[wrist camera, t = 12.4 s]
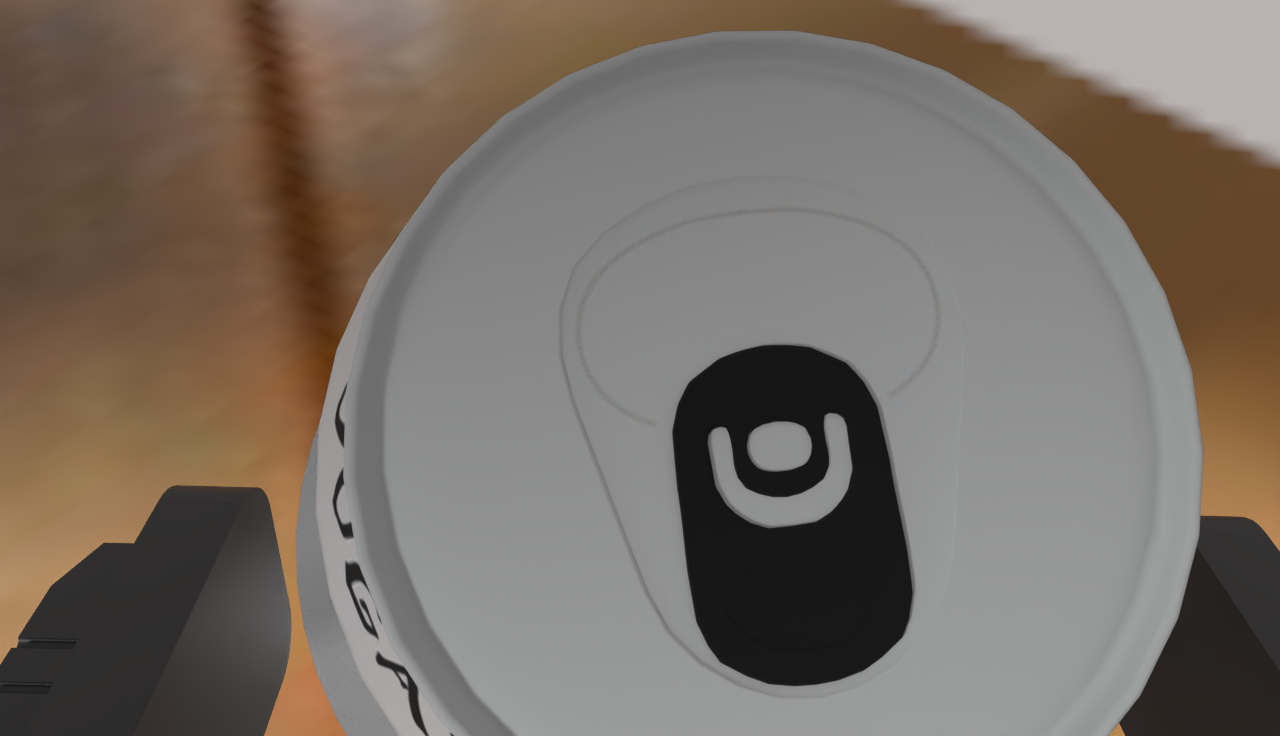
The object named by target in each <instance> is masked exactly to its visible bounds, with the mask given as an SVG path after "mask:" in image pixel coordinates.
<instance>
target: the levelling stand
mask: <svg viewBox="0 0 1280 736" xmlns="http://www.w3.org/2000/svg"><path fill="white" fill-rule="evenodd" d="M318 428H319V426H318ZM317 452H318V429H317V431H316V434H315V436H314V439H313V443H312V447H311V450H310V454H309V458H308V462H307V466H306V470H305V474H304V478H303V482H302V488H301V496H300V505H299V513H298V522H297V530H296V548H297V584H298V590H299V597H300V604H301V611H302V618H303V625H304V629H305V633H306V636H307V640H308V643H309V647H310V650H311V654H312V658H313V661H314V665H315V668H316V672H317V675H318V677H319V679H320V682H321V684H322V686H323V688H324V691H325V693H326V695H327V698H328V700H329V702H330V704H331V707H332V709H333V711H334V714H335V716H336V718H337V720H338V722H339V723H340V725H341V727H342V728H343V730H344V731H345V733H346V735H347V736H398V734H397V733H396V731H395V730H394V728H393V727H392V725H391V723H390V722H389V720H388V719H387V717H386V716H385V714H384V713H383V711H382V710H381V708H380V706H379V705H378V703H377V702H376V700H375V699H374V697H373V696H372V694H371V692H370V691H369V689H368V688H367V686H366V685H365V683H364V682H363V680H362V678H361V676H360V674H359V671H358V668H357V666H356V663H355V661H354V658H353V656H352V653H351V650H350V648H349V645H348V643H347V640H346V637H345V635H344V632H343V630H342V627H341V624H340V622H339V619H338V617H337V614H336V611H335V609H334V606H333V604H332V601H331V598H330V595H329V589H328V583H327V577H326V571H325V565H324V559H323V554H322V548H321V542H320V536H319V530H318V524H317V518H316V483H317Z"/></svg>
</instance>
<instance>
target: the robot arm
mask: <svg viewBox="0 0 1280 736" xmlns="http://www.w3.org/2000/svg"><path fill="white" fill-rule="evenodd" d="M18 639H19V642H18V646H17V648H11V649H10V651H9V652H8V654H7V655H6V657H5V659H4V660H3V662H2V663H1V665H0V736H264V733H265V731H266V728H267V725H268V722H269V719H270V716H271V713H272V711H273V708H274V705H275V702H276V699H277V696H278V693H279V690H280V688H281V685H282V682H283V679H284V675H285V672H286V668H287V663H288V658H289V651H290V643H291V610H290V604H289V599H288V594H287V589H286V584H285V579H284V574H283V569H282V564H281V559H280V554H279V549H278V544H277V539H276V534H275V528H274V523H273V518H272V513H271V508H270V504H269V501H268V498H267V495H266V494H265V492H264V491H263V490H262V489H261V488H254V487H217V486H180V485H176V486H172V487H170V488H169V489H167V490H166V492H165V493H164V494H163V495H162V497H161V498H160V500H159V501H158V503H157V505H156V506H155V508H154V510H153V512H152V513H151V515H150V517H149V519H148V520H147V522H146V524H145V525H144V527H143V529H142V531H141V532H140V534H139V536H138V538H137V539H136V541H135V543H134V544H131V543H103V544H102V545H101V546H99V547H98V548H97V549H96V550H95V551H93V552H92V553H91V554H90V555H88V556H87V557H86V558H85V559H84V560H82V561H81V562H80V563H79V564H77V565H76V566H75V567H74V568H73V569H71V570H70V571H69V572H68V573H66V574H65V575H64V576H63V577H62V578H60V579H59V580H58V581H57V582H55V583H54V584H53V585H52V586H51V587H50V589H49V590H48V592H47V593H46V595H45V596H44V598H43V600H42V601H41V603H40V604H39V606H38V607H37V609H36V610H35V612H34V614H33V615H32V617H31V618H30V620H29V621H28V623H27V624H26V626H25V628H24V629H23V631H22V632H21V634H20V635H19V637H18ZM1119 723H1120V725H1121V728H1122V730H1123V732H1124V734H1125V736H1280V551H1279V550H1278V549H1277V547H1276V546H1275V545H1274V543H1273V542H1272V541H1271V539H1270V538H1269V537H1268V535H1267V534H1266V533H1265V531H1264V530H1263V529H1262V528H1261V527H1260V526H1259V525H1258V524H1257V523H1255V522H1254V521H1252V520H1250V519H1248V518H1245V517H1230V516H1200V532H1199V539H1198V543H1197V547H1196V551H1195V554H1194V558H1193V562H1192V566H1191V570H1190V574H1189V578H1188V582H1187V586H1186V589H1185V593H1184V597H1183V601H1182V605H1181V609H1180V613H1179V617H1178V620H1177V622H1176V624H1175V626H1174V628H1173V630H1172V632H1171V634H1170V636H1169V638H1168V640H1167V642H1166V644H1165V646H1164V648H1163V650H1162V652H1161V654H1160V656H1159V658H1158V660H1157V663H1156V665H1155V667H1154V669H1153V671H1152V673H1151V675H1150V677H1149V679H1148V681H1147V683H1146V685H1145V687H1144V689H1143V691H1142V693H1141V695H1140V697H1139V698H1138V699H1137V700H1136V702H1135V703H1134V704H1133V706H1132V707H1131V708H1130V709H1129V711H1128V712H1127V713H1126V714H1125V716H1124V717H1123V718H1122V720H1121V721H1120V722H1119Z"/></svg>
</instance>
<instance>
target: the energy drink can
mask: <svg viewBox="0 0 1280 736" xmlns="http://www.w3.org/2000/svg"><path fill="white" fill-rule="evenodd" d="M1202 472H1203V445H1202V438H1201V431H1200V424H1199V417H1198V410H1197V403H1196V396H1195V389H1194V382H1193V375H1192V369H1191V366H1190V363H1189V361H1188V358H1187V355H1186V352H1185V349H1184V346H1183V343H1182V340H1181V337H1180V334H1179V332H1178V329H1177V326H1176V323H1175V320H1174V317H1173V314H1172V311H1171V308H1170V306H1169V303H1168V300H1167V297H1166V294H1165V292H1164V290H1163V288H1162V286H1161V285H1160V283H1159V281H1158V279H1157V277H1156V276H1155V274H1154V272H1153V270H1152V269H1151V267H1150V265H1149V263H1148V262H1147V260H1146V258H1145V256H1144V254H1143V253H1142V251H1141V249H1140V247H1139V246H1138V244H1137V242H1136V240H1135V239H1134V237H1133V235H1132V233H1131V231H1130V230H1129V228H1128V226H1127V224H1126V223H1125V221H1124V220H1123V219H1122V218H1121V216H1120V215H1119V214H1118V213H1117V212H1116V210H1115V209H1114V208H1113V207H1112V206H1111V204H1110V203H1109V202H1108V201H1107V200H1106V199H1105V197H1104V196H1103V195H1102V194H1101V193H1100V191H1099V190H1098V189H1097V188H1096V187H1095V185H1094V184H1093V183H1092V182H1091V181H1090V179H1089V178H1088V177H1087V176H1086V175H1085V173H1084V172H1083V171H1082V170H1081V169H1080V167H1079V166H1078V165H1077V164H1076V163H1075V161H1074V160H1073V159H1071V158H1070V157H1069V156H1068V155H1067V154H1065V153H1064V152H1063V151H1062V150H1061V149H1059V148H1058V147H1057V146H1056V145H1055V144H1054V143H1052V142H1051V141H1050V140H1049V139H1048V138H1046V137H1045V136H1044V135H1043V134H1042V133H1040V132H1039V131H1038V130H1037V129H1036V128H1034V127H1033V126H1032V125H1031V124H1030V123H1028V122H1027V121H1026V120H1025V119H1024V118H1023V117H1021V116H1020V115H1019V114H1018V113H1017V112H1015V111H1014V110H1013V109H1011V108H1010V107H1008V106H1006V105H1004V104H1003V103H1001V102H999V101H997V100H996V99H994V98H992V97H990V96H989V95H987V94H985V93H984V92H982V91H980V90H978V89H977V88H975V87H973V86H971V85H970V84H968V83H966V82H964V81H963V80H961V79H959V78H957V77H956V76H954V75H952V74H950V73H949V72H947V71H945V70H943V69H940V68H937V67H935V66H932V65H929V64H926V63H923V62H921V61H918V60H915V59H912V58H910V57H907V56H904V55H901V54H898V53H896V52H893V51H890V50H887V49H885V48H882V47H879V46H876V45H873V44H871V43H865V42H859V41H853V40H847V39H841V38H835V37H829V36H823V35H817V34H811V33H805V32H799V31H716V32H711V33H706V34H701V35H696V36H690V37H685V38H680V39H675V40H670V41H665V42H660V43H655V44H650V45H645V46H640V47H637V48H635V49H632V50H630V51H627V52H624V53H622V54H619V55H617V56H614V57H612V58H609V59H607V60H604V61H602V62H599V63H597V64H594V65H592V66H589V67H587V68H584V69H582V70H579V71H576V72H574V73H571V74H569V75H567V76H565V77H564V78H562V79H561V80H559V81H557V82H556V83H554V84H553V85H551V86H550V87H548V88H546V89H545V90H543V91H542V92H540V93H539V94H537V95H535V96H534V97H532V98H531V99H529V100H528V101H526V102H524V103H523V104H521V105H520V106H518V107H517V108H515V109H513V110H512V111H510V112H509V113H507V114H506V115H504V116H502V117H501V118H500V119H499V120H498V121H497V122H496V123H495V124H494V125H493V126H492V127H490V128H489V129H488V130H487V131H486V132H485V133H484V134H483V135H482V136H481V137H480V138H479V139H478V140H477V141H476V142H475V143H473V144H472V145H471V146H470V147H469V148H468V149H467V150H466V151H465V152H464V153H463V154H462V155H461V156H460V157H459V158H458V159H457V160H455V161H454V162H453V163H452V164H451V165H450V166H449V167H448V168H447V169H446V170H445V171H444V172H443V173H442V175H441V176H440V178H439V179H438V181H437V182H436V183H435V185H434V186H433V188H432V189H431V190H430V192H429V193H428V195H427V196H426V197H425V199H424V200H423V202H422V203H421V204H420V206H419V207H418V209H417V210H416V211H415V213H414V214H413V216H412V217H411V218H410V220H409V221H408V223H407V224H406V225H405V227H404V228H403V230H402V231H401V232H400V234H399V235H398V237H397V239H396V241H395V242H394V243H393V245H392V246H391V248H390V249H389V250H388V252H387V253H386V255H385V256H384V257H383V259H382V260H381V262H380V263H379V264H378V266H377V267H376V269H375V270H374V271H373V273H372V274H371V276H370V277H369V280H368V282H367V284H366V286H365V288H364V291H363V293H362V295H361V297H360V299H359V302H358V304H357V306H356V308H355V310H354V313H353V315H352V317H351V319H350V321H349V324H348V326H347V328H346V330H345V332H344V335H343V337H342V339H341V341H340V343H339V346H338V348H337V350H336V355H335V359H334V363H333V368H332V372H331V376H330V381H329V385H328V389H327V394H326V398H325V402H324V406H323V411H322V415H321V419H320V424H319V428H318V452H317V483H316V518H317V524H318V530H319V536H320V542H321V548H322V554H323V559H324V565H325V571H326V577H327V583H328V589H329V595H330V598H331V601H332V604H333V606H334V609H335V611H336V614H337V617H338V619H339V622H340V624H341V627H342V630H343V632H344V635H345V637H346V640H347V643H348V645H349V648H350V650H351V653H352V656H353V658H354V661H355V663H356V666H357V668H358V671H359V674H360V676H361V678H362V680H363V682H364V683H365V685H366V686H367V688H368V689H369V691H370V692H371V694H372V696H373V697H374V699H375V700H376V702H377V703H378V705H379V706H380V708H381V710H382V711H383V713H384V714H385V716H386V717H387V719H388V720H389V722H390V723H391V725H392V727H393V728H394V730H395V731H396V733H397V734H398V736H1109V735H1110V733H1111V732H1112V731H1113V730H1114V728H1115V727H1116V726H1117V725H1118V723H1119V722H1120V721H1121V720H1122V718H1123V717H1124V716H1125V714H1126V713H1127V712H1128V711H1129V709H1130V708H1131V707H1132V706H1133V704H1134V703H1135V702H1136V700H1137V699H1138V698H1139V697H1140V695H1141V693H1142V691H1143V689H1144V687H1145V685H1146V683H1147V681H1148V679H1149V677H1150V675H1151V673H1152V671H1153V669H1154V667H1155V665H1156V663H1157V660H1158V658H1159V656H1160V654H1161V652H1162V650H1163V648H1164V646H1165V644H1166V642H1167V640H1168V638H1169V636H1170V634H1171V632H1172V630H1173V628H1174V626H1175V624H1176V622H1177V620H1178V617H1179V613H1180V609H1181V605H1182V601H1183V597H1184V593H1185V589H1186V586H1187V582H1188V578H1189V574H1190V570H1191V566H1192V562H1193V558H1194V554H1195V551H1196V547H1197V543H1198V539H1199V532H1200V512H1201V492H1202Z"/></svg>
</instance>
